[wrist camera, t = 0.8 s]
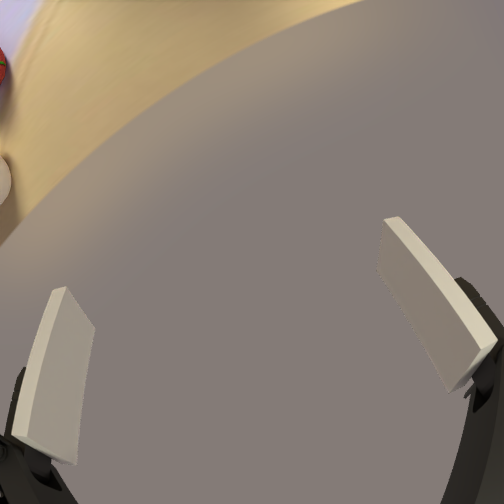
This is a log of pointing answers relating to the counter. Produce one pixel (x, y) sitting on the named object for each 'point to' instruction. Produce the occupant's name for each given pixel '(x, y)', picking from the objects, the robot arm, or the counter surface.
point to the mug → (4, 180)
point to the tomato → (2, 65)
